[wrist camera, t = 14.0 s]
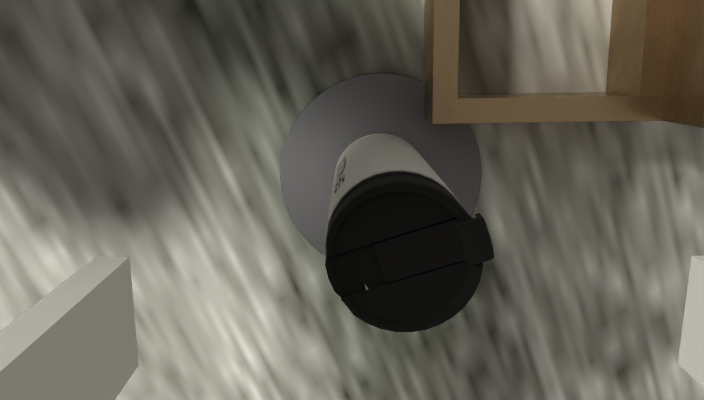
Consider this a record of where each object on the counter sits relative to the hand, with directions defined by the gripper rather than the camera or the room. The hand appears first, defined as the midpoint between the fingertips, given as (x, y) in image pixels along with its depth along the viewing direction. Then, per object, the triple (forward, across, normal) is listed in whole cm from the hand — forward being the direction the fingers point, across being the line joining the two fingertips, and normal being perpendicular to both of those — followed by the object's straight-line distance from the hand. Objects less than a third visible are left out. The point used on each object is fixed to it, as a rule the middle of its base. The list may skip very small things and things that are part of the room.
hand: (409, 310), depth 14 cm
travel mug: (+29, +1, -2) cm, 29 cm away
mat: (+29, +1, -2) cm, 29 cm away
